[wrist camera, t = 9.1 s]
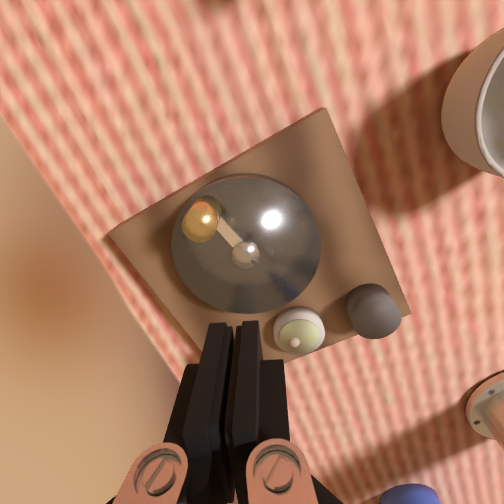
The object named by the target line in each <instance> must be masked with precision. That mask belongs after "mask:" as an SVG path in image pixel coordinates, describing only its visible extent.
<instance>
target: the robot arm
mask: <svg viewBox="0 0 504 504" xmlns="http://www.w3.org/2000/svg"><path fill="white" fill-rule="evenodd" d="M465 414H466V417H467V420H468V422H469V423H470V425H471V426H472V428H473V429H474V430H475V431H476V432H477V433H479V434H480V435H482V436H484V437H487V438H489V439H494V440H496V441H497V442H498V444H499V445H500V446H501V448H502V449H503V451H504V372H502V373H500V374H498V375H496V376H494V377H492V378H490V379H488V380H487V381H485V382H484V383H483V384H481V385H480V386H479V387H478V388H477V389H476V390H475V391H474V392H473V393H472V394H471V396H470V398H469V400H468V401H467V405H466V410H465ZM235 489H236V494H237V499H238V504H343V503H342V502H341V501H340V500H339V499H337V498H336V497H335V496H334V495H333V494H332V493H331V492H330V491H329V490H327V489H326V488H325V487H324V486H323V485H322V484H321V483H320V482H319V481H318V480H316V479H315V478H314V477H313V476H312V475H311V474H310V471H309V468H308V464H307V461H306V459H305V457H304V454H303V453H302V451H301V450H300V449H299V448H298V447H297V446H296V445H294V444H293V443H291V442H290V434H289V422H288V410H287V397H286V385H285V373H284V361H283V359H275V360H263V354H262V345H261V336H260V327H259V321H258V320H252V321H243V322H242V325H241V326H236V333H235V339H234V333H233V327H232V326H227V324H226V322H220V323H210V324H209V326H208V330H207V334H206V338H205V342H204V346H203V350H202V355H201V359H200V363H199V364H188V365H187V366H186V368H185V370H184V373H183V377H182V380H181V384H180V387H179V391H178V394H177V397H176V401H175V404H174V407H173V411H172V414H171V417H170V421H169V424H168V427H167V431H166V434H165V438H164V441H163V443H160V444H157V445H154V446H152V447H150V448H148V449H147V450H145V451H144V452H143V453H142V454H141V455H140V456H139V457H138V458H137V459H136V460H135V462H134V463H133V465H132V466H131V468H130V470H129V472H128V474H127V476H126V478H125V480H124V482H123V484H122V486H121V488H120V490H119V491H118V493H117V495H116V496H115V497H114V498H112V499H111V500H110V501H109V502H108V503H106V504H227V503H233V501H234V493H235Z"/></svg>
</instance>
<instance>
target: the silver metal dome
mask: <svg viewBox="0 0 504 504" xmlns="http://www.w3.org/2000/svg"><path fill="white" fill-rule="evenodd" d="M171 246H172V256H173V260H174V264H175V267H176V269H177V272H178V273H179V275H180V277H181V279H182V280H183V282H184V283H185V285H186V286H187V287H188V288H189V289H190V290H191V291H192V292H193V293H194V294H195V295H196V296H197V297H198V298H200V299H201V300H203V301H204V302H206V303H208V304H210V305H211V306H213V307H216V308H218V309H221V310H224V311H228V312H232V313H238V314H257V313H263V312H268V311H271V310H275V309H277V308H279V307H282V306H284V305H286V304H287V303H289V302H291V301H292V300H294V299H295V298H296V297H298V296H299V295H300V294H301V293H302V292H303V291H304V290H305V289H306V287H307V286H308V285H309V284H310V282H311V280H312V279H313V277H314V275H315V273H316V271H317V268H318V265H319V262H320V256H321V239H320V233H319V230H318V226H317V224H316V221H315V219H314V217H313V215H312V213H311V211H310V209H309V207H308V206H307V204H306V203H305V201H304V200H303V199H302V198H301V196H300V195H299V194H298V193H297V192H295V191H294V190H293V189H292V188H291V187H289V186H288V185H286V184H285V183H283V182H281V181H279V180H277V179H275V178H272V177H269V176H266V175H261V174H255V173H237V174H231V175H227V176H223V177H220V178H218V179H215V180H213V181H211V182H210V183H208V184H206V185H205V186H203V187H202V188H201V189H199V190H198V191H197V192H196V193H195V194H194V195H193V196H192V197H191V199H190V200H189V201H188V203H187V204H186V205H185V207H184V208H183V209H182V211H181V213H180V214H179V216H178V218H177V220H176V223H175V226H174V229H173V234H172V243H171Z"/></svg>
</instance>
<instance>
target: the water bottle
mask: <svg viewBox="0 0 504 504" xmlns="http://www.w3.org/2000/svg"><path fill="white" fill-rule="evenodd" d="M380 504H441V503H440V500H439V498H438V496H437V494H436V492H435V491H434V490H433V489H432V488H430V487H428V486H425V485H421V484H405V485H400V486H397V487H394V488H392V489H390V490H388V491H386V492H385V493H384V494H383V495H382V497H381V498H380Z"/></svg>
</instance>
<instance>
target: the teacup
mask: <svg viewBox="0 0 504 504" xmlns="http://www.w3.org/2000/svg"><path fill="white" fill-rule="evenodd" d="M441 124H442V129H443V133H444V137H445V139H446V141H447V143H448V145H449V147H450V148H451V150H452V151H453V152H454V153H455V154H456V155H457V156H458V157H459V158H460V159H461V160H462V161H464V162H465V163H467V164H469V165H471V166H472V167H475V168H477V169H480V170H482V171H485V172H488V173H490V174H494V175H497V176H500V177H502V178H504V28H503V29H501V30H499V31H498V32H496V33H494V34H493V35H491V36H490V37H489V38H487V39H486V40H484V41H483V42H482V43H481V44H480V45H478V46H477V47H476V48H475V49H474V50H473V51H472V52H471V53H470V54H469V55H468V56H467V57H466V58H465V60H464V61H463V62H462V63H461V65H460V66H459V67H458V69H457V70H456V72H455V74H454V75H453V77H452V79H451V81H450V83H449V85H448V87H447V90H446V92H445V96H444V100H443V104H442V112H441Z"/></svg>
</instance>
